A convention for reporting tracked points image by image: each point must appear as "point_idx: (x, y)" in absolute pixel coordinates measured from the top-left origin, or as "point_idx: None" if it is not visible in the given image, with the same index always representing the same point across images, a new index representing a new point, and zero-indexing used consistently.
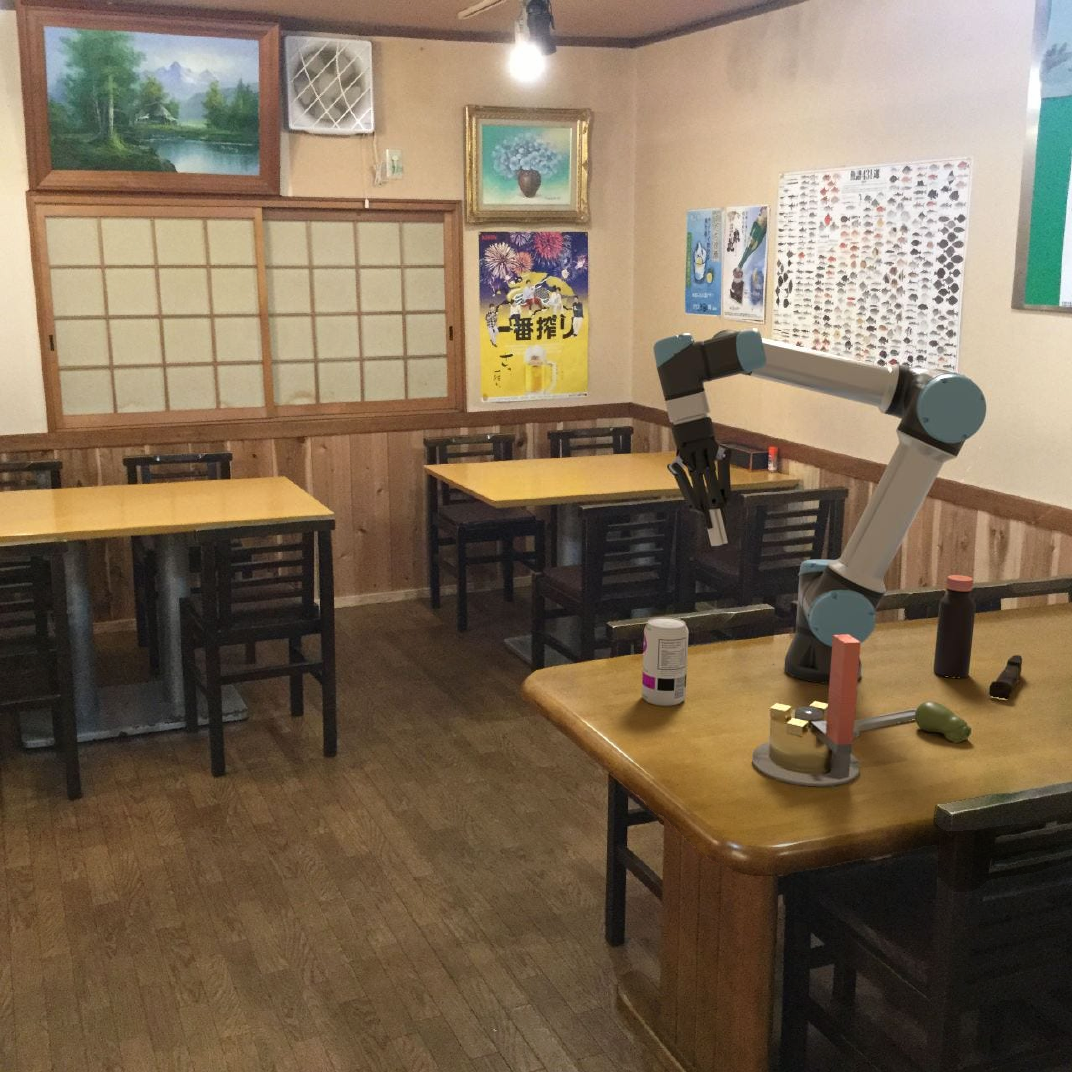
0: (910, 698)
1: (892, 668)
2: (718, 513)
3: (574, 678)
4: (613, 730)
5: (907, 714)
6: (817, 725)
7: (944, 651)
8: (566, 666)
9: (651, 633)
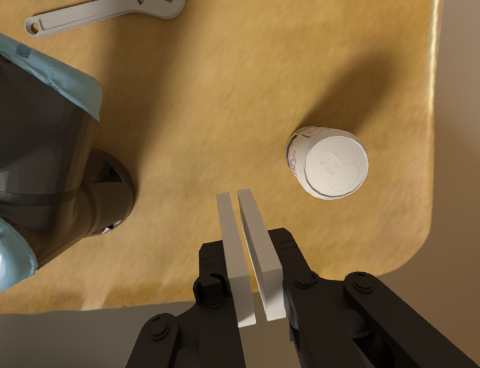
0: None
1: None
2: (239, 261)
3: (376, 238)
4: (412, 69)
5: (55, 21)
6: None
7: None
8: None
9: (366, 151)
